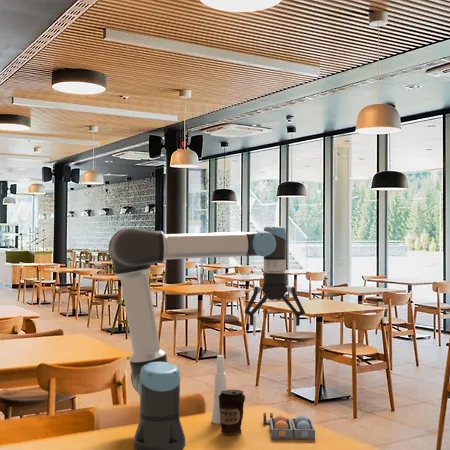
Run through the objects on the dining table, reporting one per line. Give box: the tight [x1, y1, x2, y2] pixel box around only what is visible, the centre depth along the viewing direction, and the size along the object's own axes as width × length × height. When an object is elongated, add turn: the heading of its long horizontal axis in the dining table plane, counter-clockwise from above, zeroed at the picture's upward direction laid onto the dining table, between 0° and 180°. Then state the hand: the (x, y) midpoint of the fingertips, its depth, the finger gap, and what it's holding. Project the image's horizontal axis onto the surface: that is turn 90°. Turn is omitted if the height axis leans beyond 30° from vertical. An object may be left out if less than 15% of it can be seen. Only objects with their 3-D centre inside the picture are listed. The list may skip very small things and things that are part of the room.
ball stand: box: [262, 412, 274, 426], centre depth 203 cm, size 3×3×3 cm
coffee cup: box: [219, 389, 246, 436], centre depth 193 cm, size 9×8×13 cm
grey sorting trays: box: [269, 417, 316, 441], centre depth 193 cm, size 13×12×3 cm
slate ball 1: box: [295, 414, 309, 427], centre depth 196 cm, size 4×4×4 cm
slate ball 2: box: [296, 421, 311, 430], centre depth 190 cm, size 4×4×4 cm
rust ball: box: [273, 414, 287, 426], centre depth 196 cm, size 4×4×4 cm
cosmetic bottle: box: [210, 354, 228, 425], centre depth 205 cm, size 6×6×22 cm
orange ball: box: [274, 420, 288, 429], centre depth 190 cm, size 4×4×4 cm
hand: (274, 335), depth 206 cm, fingers open, 13 cm apart
